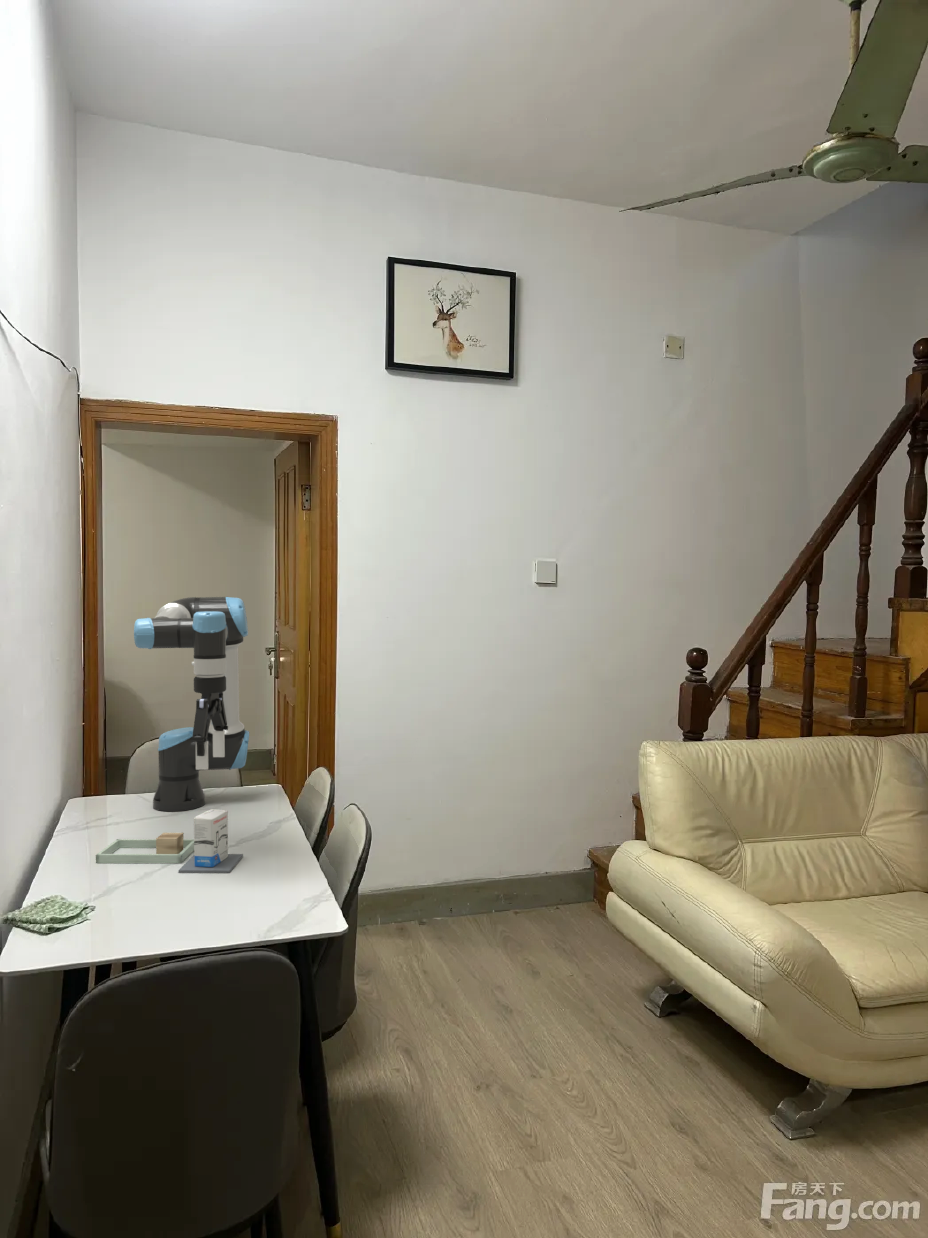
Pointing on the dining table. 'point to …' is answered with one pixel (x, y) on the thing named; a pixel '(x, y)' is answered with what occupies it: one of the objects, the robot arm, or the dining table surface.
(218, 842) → the ink box
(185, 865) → the rubber mat
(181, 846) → the kraft cube
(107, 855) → the parts tray
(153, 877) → the dining table surface
